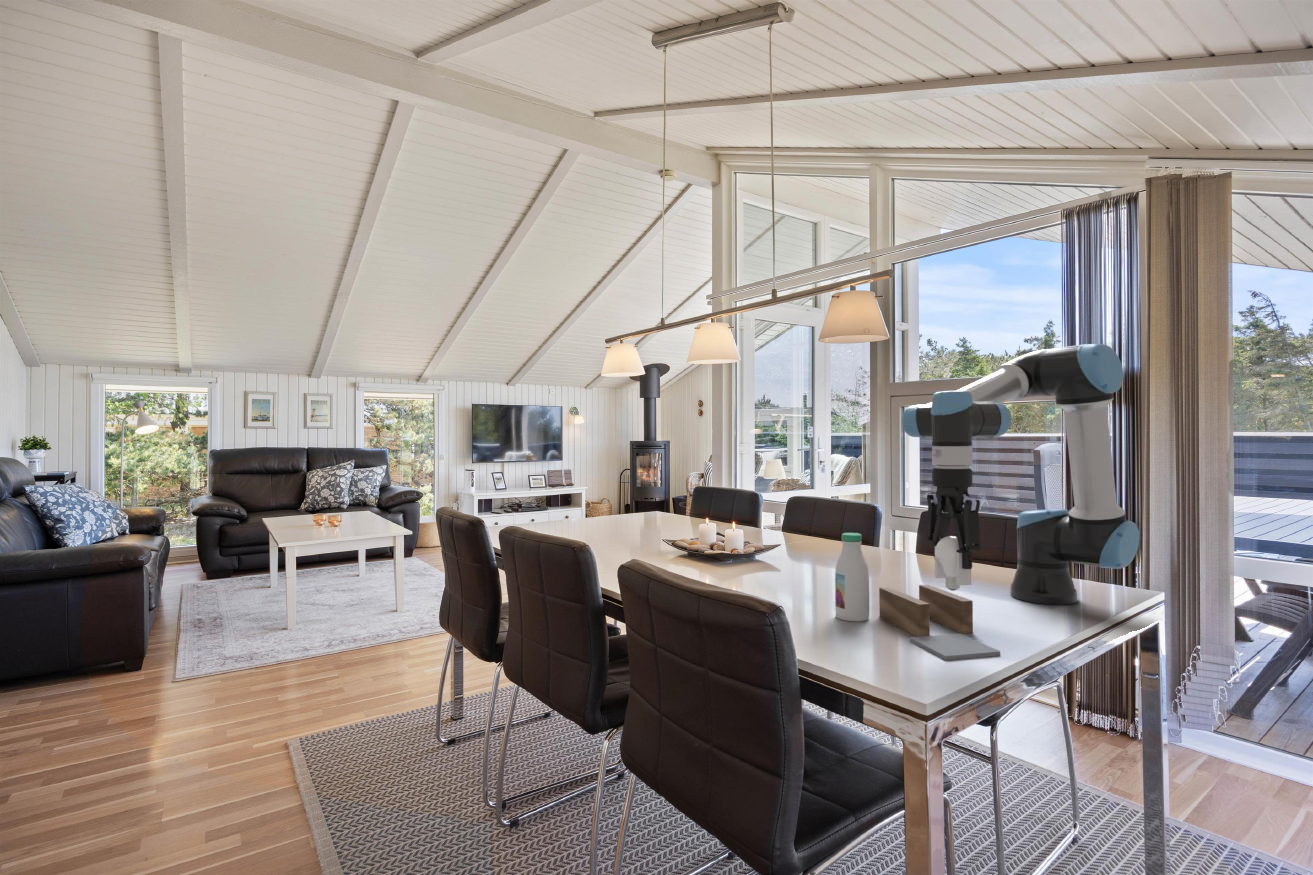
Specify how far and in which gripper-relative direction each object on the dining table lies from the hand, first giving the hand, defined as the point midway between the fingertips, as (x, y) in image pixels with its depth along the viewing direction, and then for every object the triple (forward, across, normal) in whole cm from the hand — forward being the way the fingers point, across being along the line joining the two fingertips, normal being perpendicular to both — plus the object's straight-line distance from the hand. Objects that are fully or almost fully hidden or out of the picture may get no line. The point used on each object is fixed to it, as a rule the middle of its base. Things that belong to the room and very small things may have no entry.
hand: (952, 580), depth 134 cm
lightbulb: (+2, 0, 0) cm, 2 cm away
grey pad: (+14, 0, 0) cm, 14 cm away
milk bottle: (+14, -25, -9) cm, 30 cm away
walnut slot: (+14, -16, +4) cm, 21 cm away
